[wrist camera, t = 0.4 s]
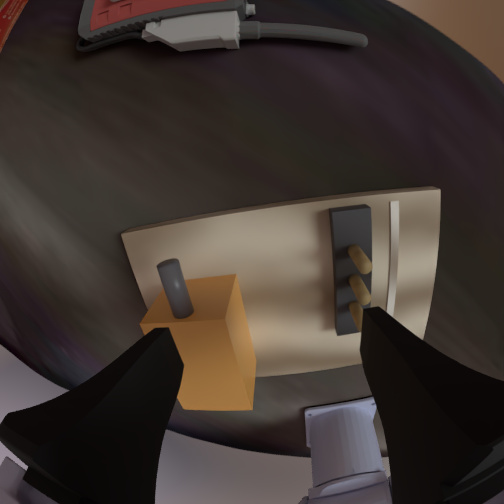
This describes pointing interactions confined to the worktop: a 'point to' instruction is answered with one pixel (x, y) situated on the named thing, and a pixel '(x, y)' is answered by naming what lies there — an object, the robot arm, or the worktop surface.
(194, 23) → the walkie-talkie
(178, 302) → the socket block
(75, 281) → the worktop surface
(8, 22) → the medicine box
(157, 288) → the board
